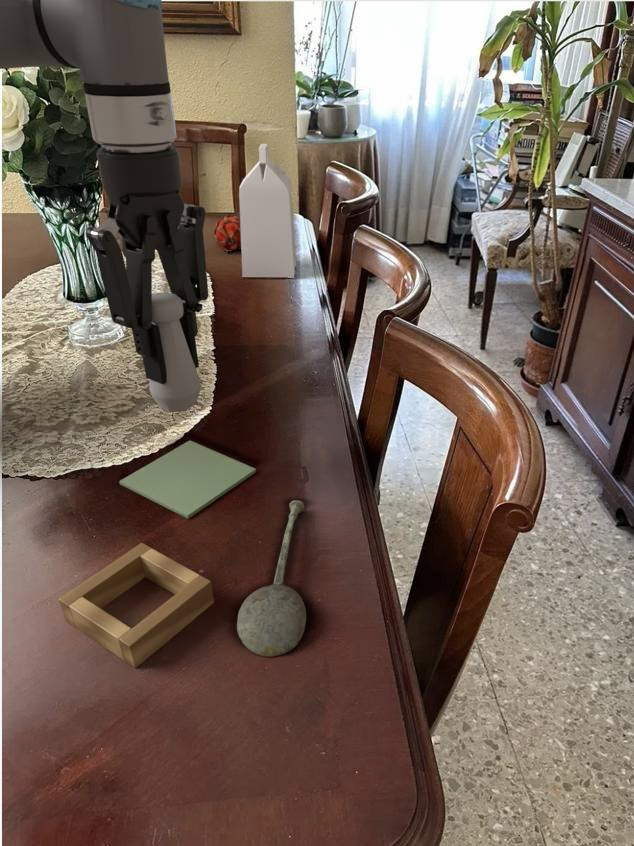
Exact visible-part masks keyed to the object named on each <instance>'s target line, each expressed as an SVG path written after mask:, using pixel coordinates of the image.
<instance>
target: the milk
mask: <svg viewBox="0 0 634 846" xmlns="http://www.w3.org/2000/svg"><path fill="white" fill-rule="evenodd" d="M258 159H259V161H257V163H255V165H254V166H253V167H252V169H250V171H249V172H248V173H247V174H246V175H245V177H244V178H243V179H242V181H241V183H240V185H239V189H238V190H239V191H238V199H239V202H238V203H239V218H240V228H241V250H240V253H241V277H288V278H294V279H295V277H294V275H296V270H295V267H296V268H297V253H296V251H297V250H296V237H295V235H296V234H295V221H294V219H295V218H294V204H293V203H294V202H293V188H292V180H291V178H290V177H289V176H288V174H287V172H286V170H285V169H284V167H283V166H282V164H280V163H279V162H275V161H274V160H273V159H272V158H271V157H270V153H269V145H268V143H260V144H259V147H258Z"/></svg>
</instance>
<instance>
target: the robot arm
mask: <svg viewBox="0 0 634 846" xmlns="http://www.w3.org/2000/svg"><path fill="white" fill-rule="evenodd" d="M162 8H163V1H162V0H0V70H4V69H5V70H6V69H7V70H8V69H19V68H21V69H22V68H61V69H63V68H65V69H66V68H67V69H68V68H69V69H74V70H75V69H77V70H79V72H80V78H81V82H82V86H83V92H84V97H85V102H86V110H87V113H88V119H89V124H90V130H91V131H90V132H91V136H92V140H93V141H94V142H95V143H96V144H98V145H101V147H99V148H98V149H97V152H96V153H95V156H96V159H97V165H98V170H99V175H100V181H101V185H102V188H103V190H104V192H105V194H106V196H107V198H108V206H107V207H108V208H107V215H106V216H107V219H106V220H104V221H103V222H102V223H101V224H100V225H99V226H97V227H96V226H88V227H87V228H86V230H85V237H86V238H87V240H88V241H89V242H90V245H91V247H92V248H93V250H94V252H95V254H96V258H97V262H98V263H97V264H98V267H99V271H100V274H101V275H100V276H101V279H102V284H103V287H104V291H105V296H106V301H107V304H108V309H109V312H110V317H111V320H112V322H113V323H114V324H115V325H119V326H122V327H125V328H127V329H131V332H132V337H133V342H134V348H135V352H136V354H137V355H139V356H140V357H142V362H143V363H142V364H143V368H144V374H145V378H146V379H149V381H150V380H153V381H156V382H158V383H161V384H165V383H167V372H166V366H165V360H164V354H163V348H162V342H161V336H160V330H159V326H157V325H154V324H152V294H153V279H152V278H153V269H152V268H153V266H152V265H153V262H154V261H155V259H156V252H157V254H158V257H159V260H160V264H161V267H162V269H163V272H164V275H165V278H166V282H167V285H168V288H169V290H170V293H173V294H175V295H177V296H178V297H180V298H181V300H182V303H183V316H182V317H181V318H180V319H179V321H180V324H181V327H182V330H183V333H184V336H185V339H186V342H187V345H188V348H189V351H190V354H191V356H192V359H193V362H194V365H195V368H196V369H197V368H200V365H199V364H200V363H199V357H198V350H197V348H198V347H197V342H196V337H197V336H198V335H199V333H198V332H199V328H198V320H197V313H201V312H202V310H203V303H200V302H202V301H206V300H208V298H209V287H208V286H209V284H208V273H207V262H206V252H205V251H206V250H205V240H204V239H205V238H204V225H205V219H206V210H205V207H203V206H199V205H195V204H189V203H185V201H184V199H183V197H182V195H181V193H180V190H181V189H182V187H183V185H184V180H183V172H182V165H181V155H180V151H179V149H177V147H176V146H174V145H172V143H174V142H175V141H176V140H177V138H178V137H177V130H176V129H177V128H176V120H175V119H176V118H175V114H174V113H175V110H174V103H173V97H172V92H171V91H172V90H171V83H170V80H169V72H168V70H169V69H168V63H167V54H166V44H165V32H164V22H163V11H162ZM119 235H120V236H121V238H120V237H119ZM120 245H122V249H121V247H120Z"/></svg>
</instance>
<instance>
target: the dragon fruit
mask: <svg viewBox="0 0 634 846" xmlns="http://www.w3.org/2000/svg"><path fill="white" fill-rule="evenodd" d="M213 238H214V239H216V241H217V243H218V245H219V246H220V247H221V248H222V250H223V251H224V250H233V251H237V250H239V249H238V248H240V249H241V228H240V216H238V215H233V216H231V215H225V216H224V218H223V219H219V220H218V221H217V222H216V223H215V228H214V230H213ZM226 252H228V251H226ZM226 252H225V253H226Z"/></svg>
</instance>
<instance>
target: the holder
mask: <svg viewBox="0 0 634 846" xmlns="http://www.w3.org/2000/svg"><path fill="white" fill-rule="evenodd" d="M144 578H146V579H147V580H149V581H151V582H152V583H154V584H156V585H157V586H160V587H161V588H163V589H164V590H167V591H168V592H170V593H171V594H173V596H171V597H170V598H169V599H167V600H166V601H165V602H164V603H163V604H161V605H160V606H159V607H157V608H156V609H155V610H154V611H153V612H150V614H149V615H147V616H146V617H145V618H143V619H142V620H141V621H140V622H138V623H137V624H136V625H135V626H133V627H132V628H131V627H130V626H128V625H126V624H125V623H124V622H122V621H120V620H119V619H117V618H116V617H115V616H113V615H111V614H110V613H108V612H107V611H105V610H104V609H103V608H104V607H106V606H107V605H109V604H111V602H113V601H114V600H115V599H117V598H118V597H120V596H121V595H123V594H124V593H125V592H127V591H129V589H131V588H132V587H134V586H135V585H136V584H137V583H139V582H140V581H142V580H143V579H144ZM212 587H213V586H212V581H211V580H210V579H207V578H206V577H205V576H202V575H200V573H199V574H198V573H197V572H195V571H193V570H192V569H189V568H188V567H186V566H184V565H183V564H180V562H179V563H178V562H177V561H175V560H174V559H172V558H170V557H168V556H166V555H164V554H163V553H161V552H159V551H157V550H156V549H154V548H152V547H151V546H149V545H146V544H145V543H144V542H140V543H139V544H137V545H136V546H134V547H133V548H132V549H130V550H128V551H127V552H125V553H124V554H123V555H121V556H120V557H118V558H117V559H115V560H114V561H112V562H111V563H109V564H108V565H106V566H105V567H103V568H102V569H100V570H99V571H98V572H96V573H94V574H93V575H92V576H90V577H88V578H87V579H85V580H84V581H83V582H81V583H80V584H78V585H76V586H75V587H74V588H72V589H71V590H70V591H68V592H66V593H65V594H64V595H62V596H61V597H59V598H58V601H59V604H60V609H61V610H62V613H63V617H64V619H65V621H66V622H67V623H68V624H70V625H71V626H73V627H74V628H76V629H77V630H78V631H80V632H81V633H83V634H84V635H86V636H87V637H88V638H91V639H93V640H94V641H95V642H96V643H97V644H99V645H100V646H102V647H104V648H105V649H106V650H108V651H110V653H112V654H114V655H115V656H117V657H118V658H120V659H121V660H123V661H124V662H125V663H127V664H128V665H130V666H132V667H133V668H134V669H136V668H138V667H139V666H140V665H142V664H143V663H144V662H145V661H146V660H147V659H149V658H150V657H151V656H152V655H154V654H155V653H156V652H157V651H158V650H159V649H160V648H162V647H163V646H164V645H165V644H166V643H168V642H169V641H170V640H171V639H173V638H174V637H175V636H176V635H177V634H179V633H180V632H181V631H182V630H183V629H185V628H186V627H187V626H188V625H189V624H191V622H193V621H194V620H196V618H197V617H199V616H200V615H202V614H203V613H204V612H205V611H206V610H208V609H209V608H210V607H211V606H212V605H213V604H214V603H215V600H214V599H215V598H214V593H213V588H212Z"/></svg>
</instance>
